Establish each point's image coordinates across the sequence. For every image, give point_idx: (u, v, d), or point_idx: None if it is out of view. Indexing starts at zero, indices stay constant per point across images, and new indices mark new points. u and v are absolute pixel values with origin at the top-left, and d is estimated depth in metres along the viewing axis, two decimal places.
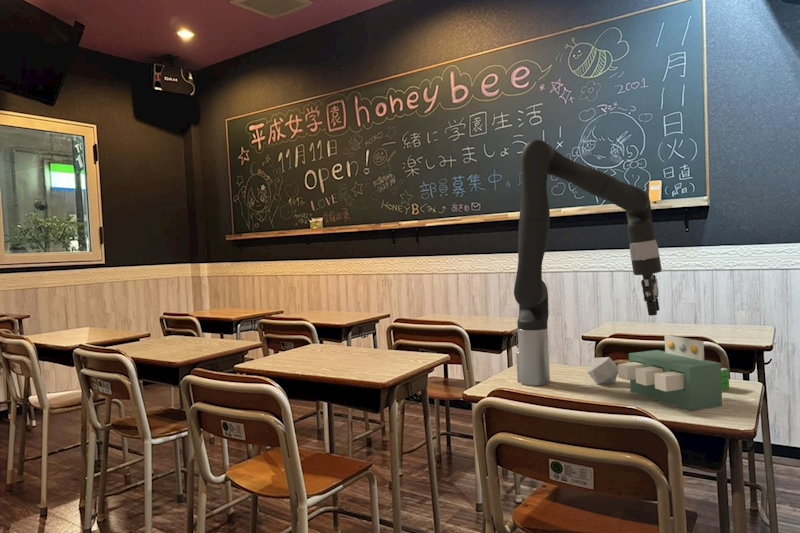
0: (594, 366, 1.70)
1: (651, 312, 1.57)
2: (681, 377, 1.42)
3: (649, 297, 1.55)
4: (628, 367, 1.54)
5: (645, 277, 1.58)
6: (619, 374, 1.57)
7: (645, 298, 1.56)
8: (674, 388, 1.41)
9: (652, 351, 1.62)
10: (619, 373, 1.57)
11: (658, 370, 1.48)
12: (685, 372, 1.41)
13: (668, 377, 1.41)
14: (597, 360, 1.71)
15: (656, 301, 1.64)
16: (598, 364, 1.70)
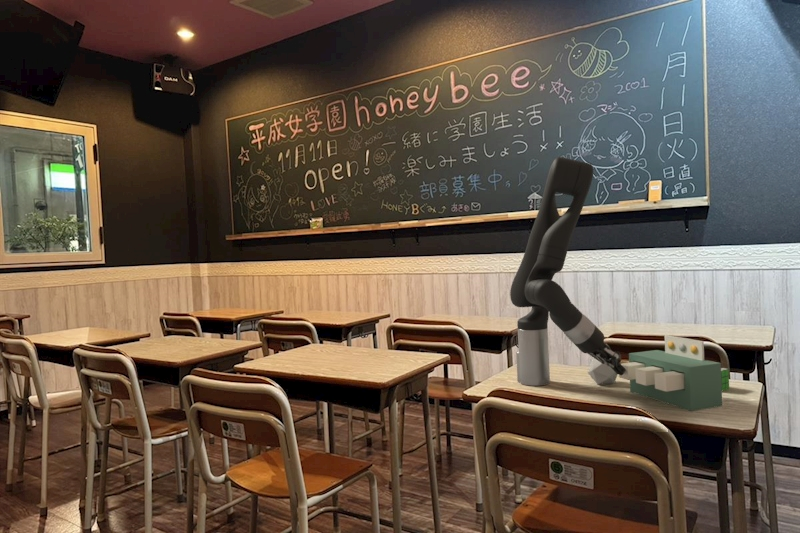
0: (594, 366, 1.70)
1: None
2: (681, 377, 1.42)
3: None
4: (629, 367, 1.54)
5: None
6: None
7: None
8: (674, 388, 1.41)
9: (652, 351, 1.62)
10: None
11: (658, 370, 1.48)
12: (685, 372, 1.41)
13: (668, 377, 1.41)
14: (597, 360, 1.71)
15: None
16: (598, 364, 1.70)
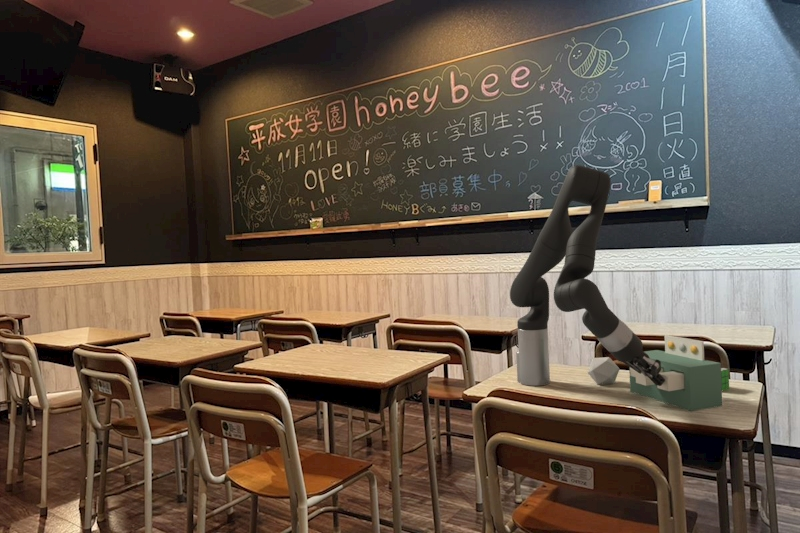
0: (594, 366, 1.70)
1: None
2: (683, 377, 1.42)
3: None
4: None
5: None
6: (631, 372, 1.58)
7: None
8: (676, 388, 1.41)
9: (652, 351, 1.62)
10: (631, 371, 1.58)
11: None
12: (685, 372, 1.41)
13: (670, 377, 1.41)
14: (597, 360, 1.71)
15: None
16: (598, 364, 1.70)
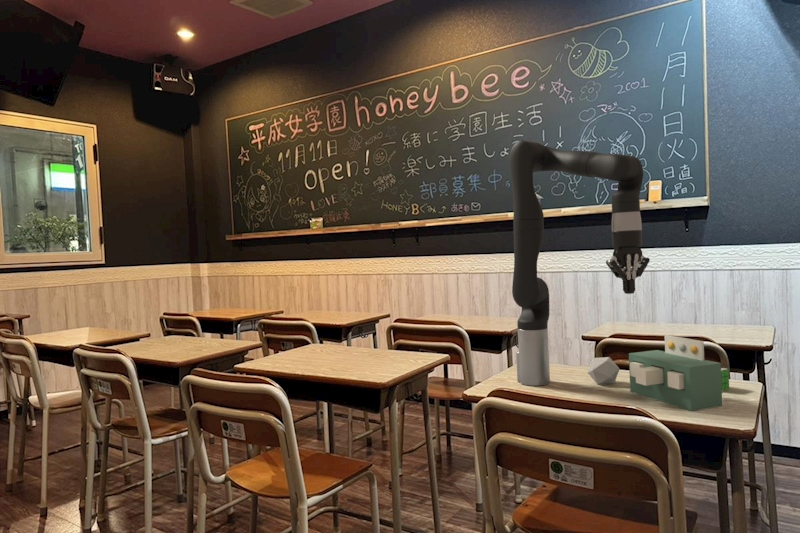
0: (594, 366, 1.70)
1: (624, 290, 1.52)
2: None
3: None
4: (640, 365, 1.55)
5: (614, 250, 1.51)
6: (631, 372, 1.58)
7: (616, 276, 1.52)
8: None
9: (652, 351, 1.62)
10: (631, 371, 1.58)
11: (658, 370, 1.48)
12: (685, 372, 1.41)
13: (681, 375, 1.42)
14: (597, 360, 1.71)
15: None
16: (598, 364, 1.70)
